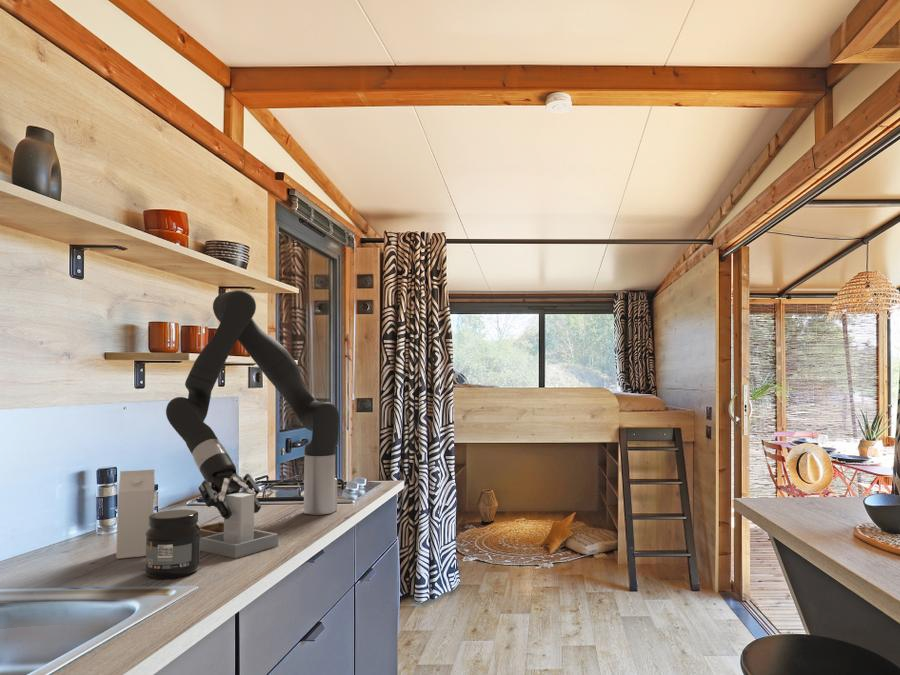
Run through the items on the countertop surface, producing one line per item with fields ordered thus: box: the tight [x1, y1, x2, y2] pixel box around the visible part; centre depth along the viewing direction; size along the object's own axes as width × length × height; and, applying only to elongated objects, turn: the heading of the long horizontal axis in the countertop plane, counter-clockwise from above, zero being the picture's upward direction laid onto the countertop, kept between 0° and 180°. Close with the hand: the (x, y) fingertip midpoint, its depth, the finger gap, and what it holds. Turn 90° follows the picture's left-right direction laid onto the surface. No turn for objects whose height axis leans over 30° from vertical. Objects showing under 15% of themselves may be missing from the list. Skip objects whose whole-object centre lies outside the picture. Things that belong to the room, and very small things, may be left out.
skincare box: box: [223, 492, 255, 544], centre depth 150 cm, size 6×4×12 cm
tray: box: [199, 529, 279, 559], centre depth 150 cm, size 13×13×3 cm
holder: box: [199, 521, 224, 538], centre depth 160 cm, size 9×11×2 cm
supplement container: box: [144, 508, 201, 580], centre depth 131 cm, size 10×10×12 cm
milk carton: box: [115, 469, 155, 560], centre depth 146 cm, size 7×7×19 cm
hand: (243, 513), depth 150 cm, fingers open, 8 cm apart
